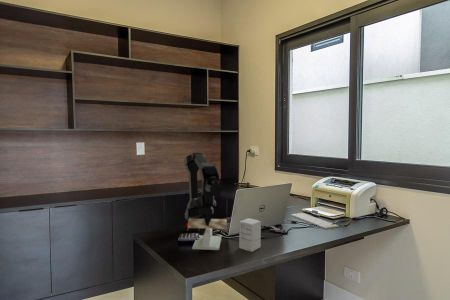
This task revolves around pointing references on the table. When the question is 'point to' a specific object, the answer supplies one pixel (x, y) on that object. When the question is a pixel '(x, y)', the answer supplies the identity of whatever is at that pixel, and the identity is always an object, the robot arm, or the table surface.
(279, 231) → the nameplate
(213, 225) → the maple bar
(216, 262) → the table surface
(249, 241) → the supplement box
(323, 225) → the grey flat block
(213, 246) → the ridge stand
